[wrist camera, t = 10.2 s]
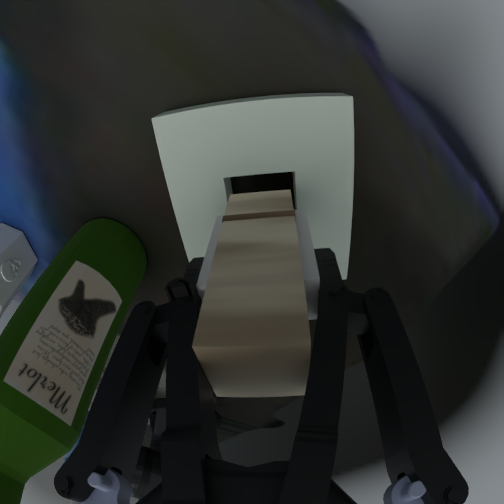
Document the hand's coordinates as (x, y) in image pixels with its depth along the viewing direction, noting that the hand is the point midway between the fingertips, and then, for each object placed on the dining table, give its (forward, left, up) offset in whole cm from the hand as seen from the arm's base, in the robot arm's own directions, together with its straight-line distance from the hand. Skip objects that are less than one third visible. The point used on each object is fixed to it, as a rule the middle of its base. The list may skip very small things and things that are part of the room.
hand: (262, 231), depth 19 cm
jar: (-3, +34, -7) cm, 35 cm away
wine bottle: (-5, +17, -7) cm, 19 cm away
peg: (0, 0, -2) cm, 2 cm away
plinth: (0, 0, -7) cm, 7 cm away
